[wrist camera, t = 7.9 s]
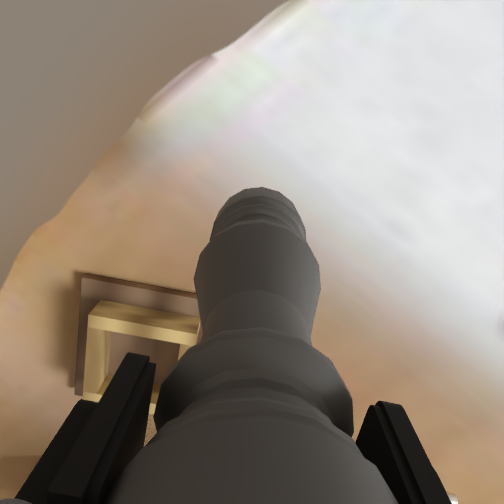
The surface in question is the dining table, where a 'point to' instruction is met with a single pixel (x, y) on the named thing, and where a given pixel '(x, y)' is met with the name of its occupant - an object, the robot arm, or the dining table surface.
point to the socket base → (131, 331)
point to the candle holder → (253, 382)
